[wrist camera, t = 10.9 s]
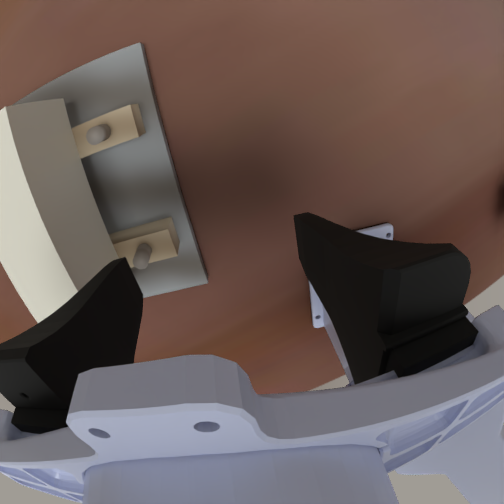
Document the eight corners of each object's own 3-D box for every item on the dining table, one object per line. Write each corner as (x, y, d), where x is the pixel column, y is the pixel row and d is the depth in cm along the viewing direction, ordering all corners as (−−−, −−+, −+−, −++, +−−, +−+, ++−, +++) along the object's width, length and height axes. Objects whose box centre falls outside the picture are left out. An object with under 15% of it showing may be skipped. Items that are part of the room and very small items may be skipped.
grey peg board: (207, 275, 24) (209, 312, 20) (67, 307, 23) (51, 341, 20) (143, 44, 14) (125, 31, 11) (-11, 124, 14) (-46, 136, 10)
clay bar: (134, 291, 20) (118, 355, 15) (89, 301, 20) (66, 361, 15) (63, 98, 13) (5, 106, 8) (16, 124, 13) (-44, 145, 8)
